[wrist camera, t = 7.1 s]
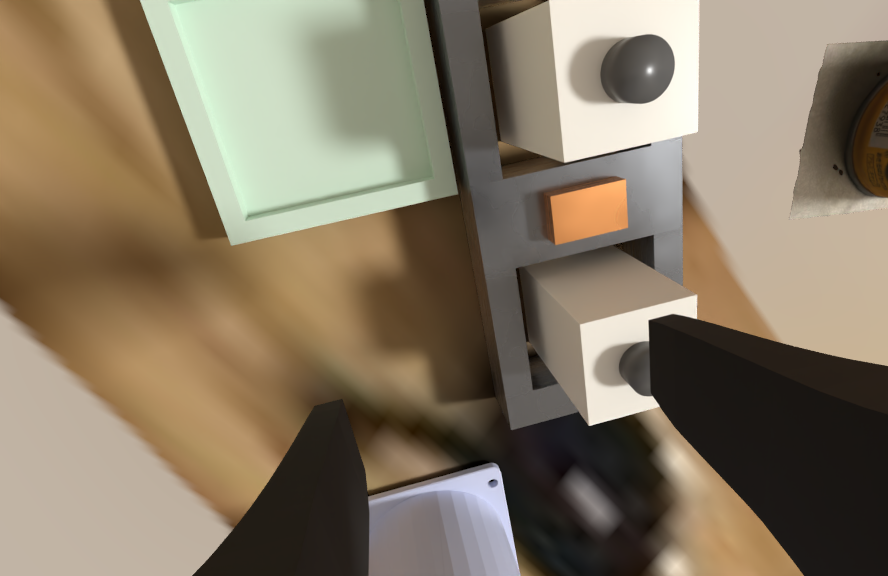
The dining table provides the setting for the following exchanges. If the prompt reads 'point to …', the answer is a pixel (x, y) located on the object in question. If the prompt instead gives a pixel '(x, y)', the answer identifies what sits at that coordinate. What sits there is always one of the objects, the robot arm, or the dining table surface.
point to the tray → (306, 107)
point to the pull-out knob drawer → (599, 326)
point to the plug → (596, 75)
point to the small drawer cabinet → (541, 210)
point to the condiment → (846, 134)
